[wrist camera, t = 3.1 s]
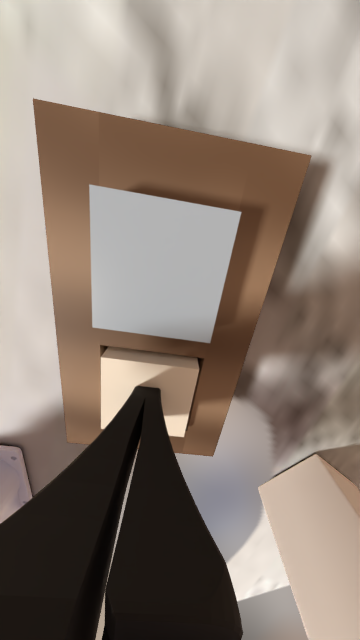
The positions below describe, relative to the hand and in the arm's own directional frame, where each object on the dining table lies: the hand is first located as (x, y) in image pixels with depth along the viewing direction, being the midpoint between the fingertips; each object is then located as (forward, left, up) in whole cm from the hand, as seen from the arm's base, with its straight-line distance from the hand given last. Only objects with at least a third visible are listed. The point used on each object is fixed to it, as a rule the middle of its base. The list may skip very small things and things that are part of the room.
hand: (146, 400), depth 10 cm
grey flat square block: (+7, 0, -1) cm, 7 cm away
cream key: (0, 0, -2) cm, 2 cm away
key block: (+3, 0, -4) cm, 5 cm away
